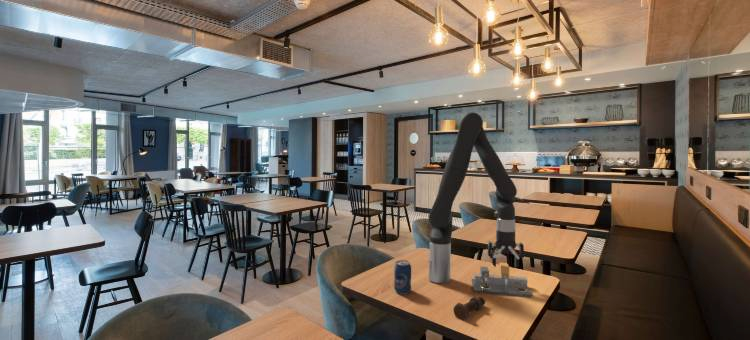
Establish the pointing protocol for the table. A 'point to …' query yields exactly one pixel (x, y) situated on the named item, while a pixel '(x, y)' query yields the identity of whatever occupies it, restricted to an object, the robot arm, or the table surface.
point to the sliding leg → (504, 271)
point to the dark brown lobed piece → (468, 307)
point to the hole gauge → (499, 284)
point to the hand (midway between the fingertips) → (505, 266)
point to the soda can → (402, 277)
